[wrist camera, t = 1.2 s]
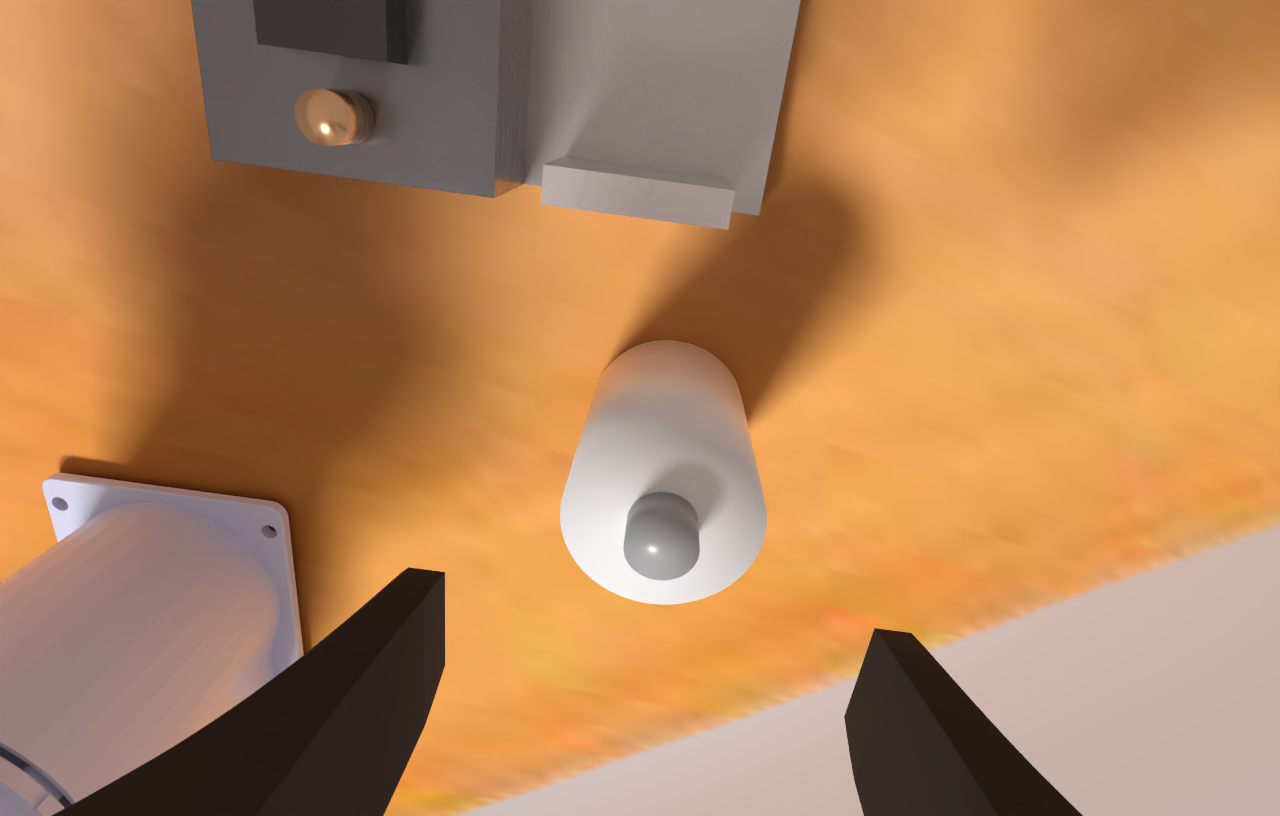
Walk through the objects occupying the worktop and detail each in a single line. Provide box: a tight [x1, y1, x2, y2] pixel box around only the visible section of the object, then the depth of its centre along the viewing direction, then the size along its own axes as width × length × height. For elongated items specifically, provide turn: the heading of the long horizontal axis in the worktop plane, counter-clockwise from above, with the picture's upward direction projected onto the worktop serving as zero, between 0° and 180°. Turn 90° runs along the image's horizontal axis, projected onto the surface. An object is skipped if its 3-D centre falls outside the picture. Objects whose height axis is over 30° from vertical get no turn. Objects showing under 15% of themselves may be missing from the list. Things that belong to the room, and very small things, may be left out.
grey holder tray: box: [191, 0, 801, 230], centre depth 14 cm, size 8×12×5 cm, turn 83°
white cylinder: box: [560, 340, 767, 604], centre depth 17 cm, size 5×5×7 cm
